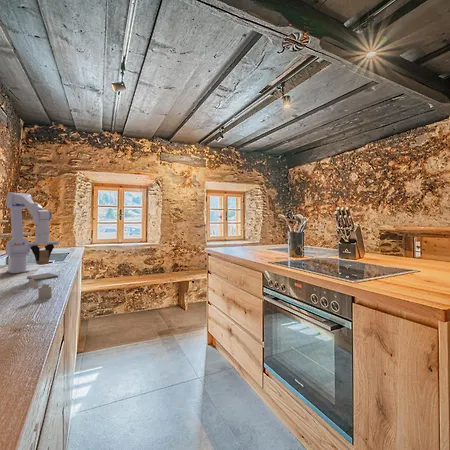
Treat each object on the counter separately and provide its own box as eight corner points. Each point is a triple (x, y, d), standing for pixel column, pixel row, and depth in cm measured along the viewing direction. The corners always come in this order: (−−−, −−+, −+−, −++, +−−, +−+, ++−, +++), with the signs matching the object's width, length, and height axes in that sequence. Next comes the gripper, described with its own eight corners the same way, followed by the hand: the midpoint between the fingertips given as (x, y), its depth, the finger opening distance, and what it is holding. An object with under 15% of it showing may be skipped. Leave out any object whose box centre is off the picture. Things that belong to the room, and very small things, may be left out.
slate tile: (27, 277, 132) (27, 276, 132) (49, 274, 141) (49, 272, 141) (35, 280, 127) (35, 279, 127) (57, 277, 135) (57, 275, 135)
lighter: (51, 296, 104) (51, 276, 103) (51, 297, 102) (51, 277, 102) (29, 299, 100) (29, 278, 100) (28, 300, 98) (28, 279, 98)
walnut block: (36, 264, 133) (36, 250, 133) (45, 262, 136) (45, 249, 136) (39, 264, 131) (39, 251, 130) (48, 263, 134) (48, 250, 134)
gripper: (28, 234, 125) (29, 262, 125) (61, 233, 137) (61, 258, 137) (22, 233, 129) (23, 261, 129) (55, 232, 141) (55, 257, 141)
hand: (42, 260), depth 133 cm, fingers closed on walnut block, 4 cm apart
